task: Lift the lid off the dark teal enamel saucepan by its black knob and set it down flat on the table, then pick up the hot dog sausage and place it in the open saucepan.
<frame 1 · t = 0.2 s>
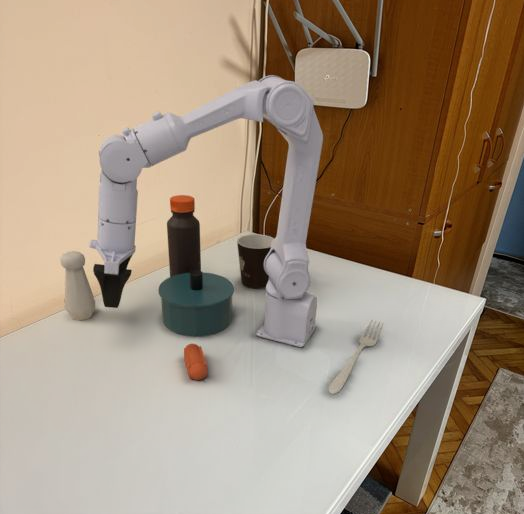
hand: (113, 296, 86), 11 cm above the table, tool pointing down, fingers open, 7 cm apart
coffee mug: (255, 280, 118), on the table
pot lid: (196, 290, 98), point 6 cm above the table, touching pot
fork: (356, 359, 92), on the table
bottle: (186, 288, 113), on the table
salt shaker: (82, 316, 101), on the table
pot: (197, 318, 101), on the table
hot dog: (195, 368, 87), on the table
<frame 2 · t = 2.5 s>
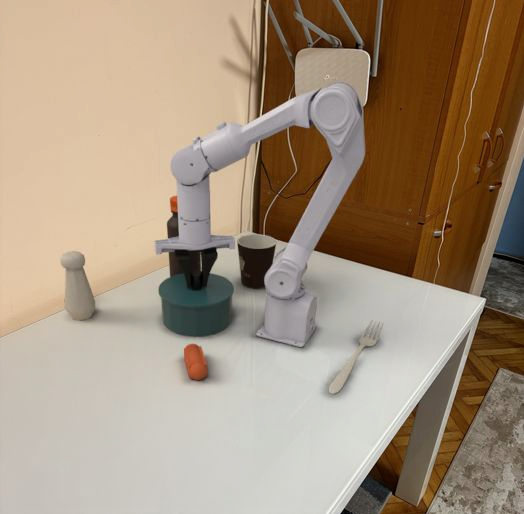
hand: (196, 285, 97), 7 cm above the table, tool pointing down, fingers closed on pot lid, 2 cm apart
pot lid: (196, 290, 98), point 6 cm above the table, touching gripper, pot
everything else where it was.
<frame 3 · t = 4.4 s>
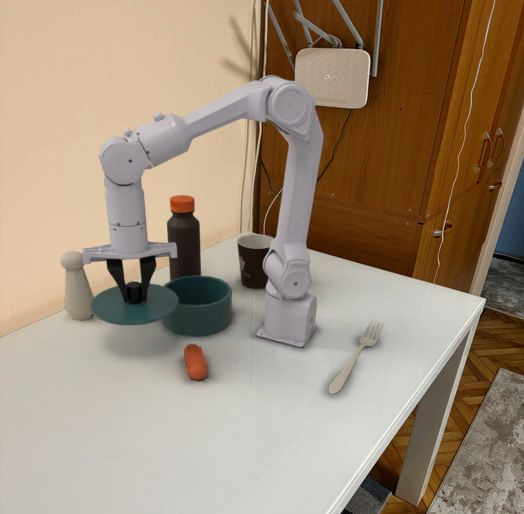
hand: (135, 298, 85), 10 cm above the table, tool pointing down, fingers closed on pot lid, 2 cm apart
pot lid: (135, 304, 86), point 9 cm above the table, touching gripper
everything else where it was.
when the fingers open (2 cm above the table, at t = 6.8 s): pot lid stays where it is, point 1 cm above the table.
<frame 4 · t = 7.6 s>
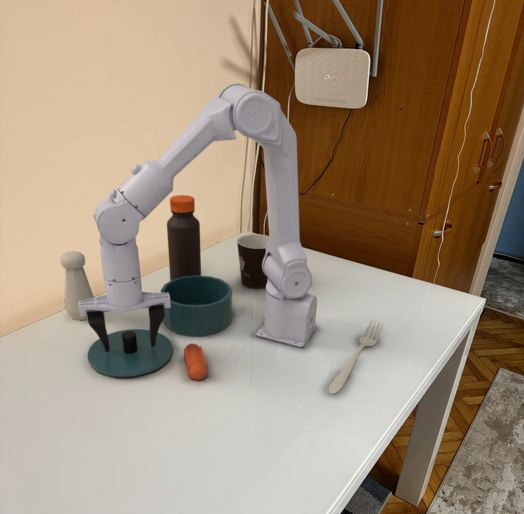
hand: (130, 346, 88), 2 cm above the table, tool pointing down, fingers open, 7 cm apart
pot lid: (130, 352, 89), point 1 cm above the table
everything else where it was.
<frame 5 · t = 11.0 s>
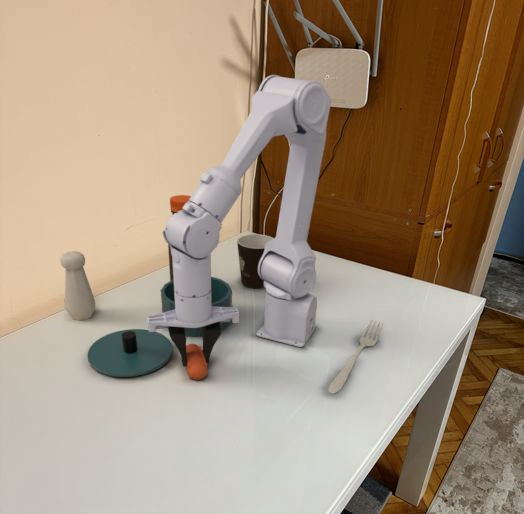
hand: (195, 361, 86), 1 cm above the table, tool pointing down, fingers closed on hot dog, 3 cm apart
hot dog: (195, 368, 87), on the table, touching gripper
everything else where it was.
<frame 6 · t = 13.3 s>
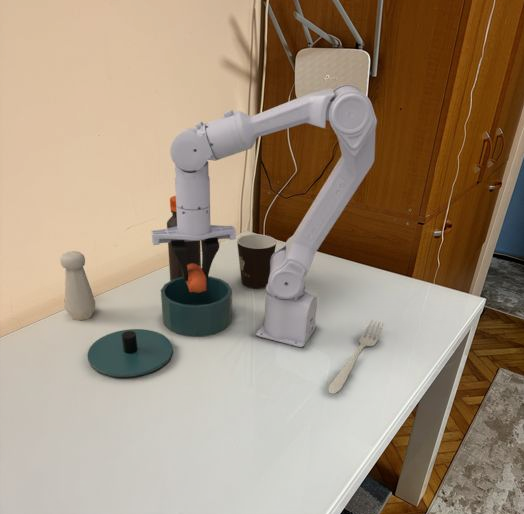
hand: (195, 278, 93), 10 cm above the table, tool pointing down, fingers closed on hot dog, 3 cm apart
hot dog: (195, 285, 94), point 9 cm above the table, touching gripper
everything else where it was.
when the fingers open (2 cm above the table, at t = 16.1 s): hot dog stays where it is, resting on pot.
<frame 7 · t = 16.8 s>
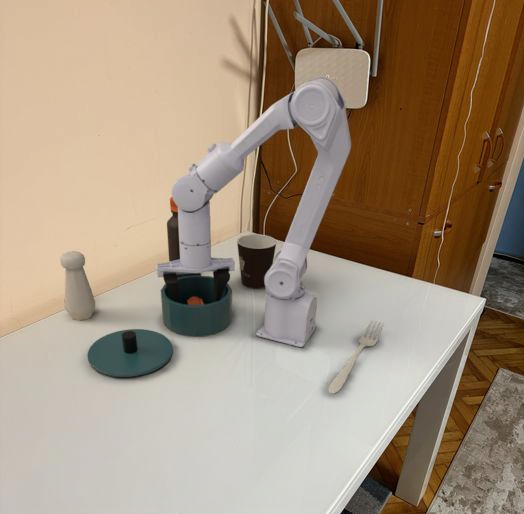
hand: (197, 306, 100), 3 cm above the table, tool pointing down, fingers open, 7 cm apart
hot dog: (197, 317, 101), resting on pot
everything else where it was.
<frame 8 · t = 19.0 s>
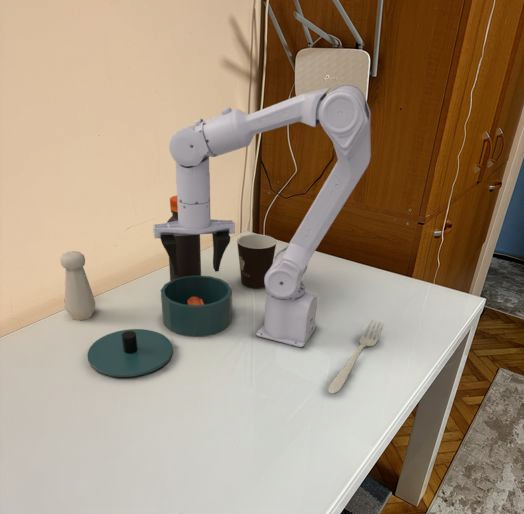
hand: (196, 271, 96), 10 cm above the table, tool pointing down, fingers open, 7 cm apart
nothing on the table moved.
at the end: hot dog inside the target area in the pot (0.1 cm from its centre), point 0.4 cm above the pot's base; pot lid point 0.6 cm above the table; pot lid tilted 0° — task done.
